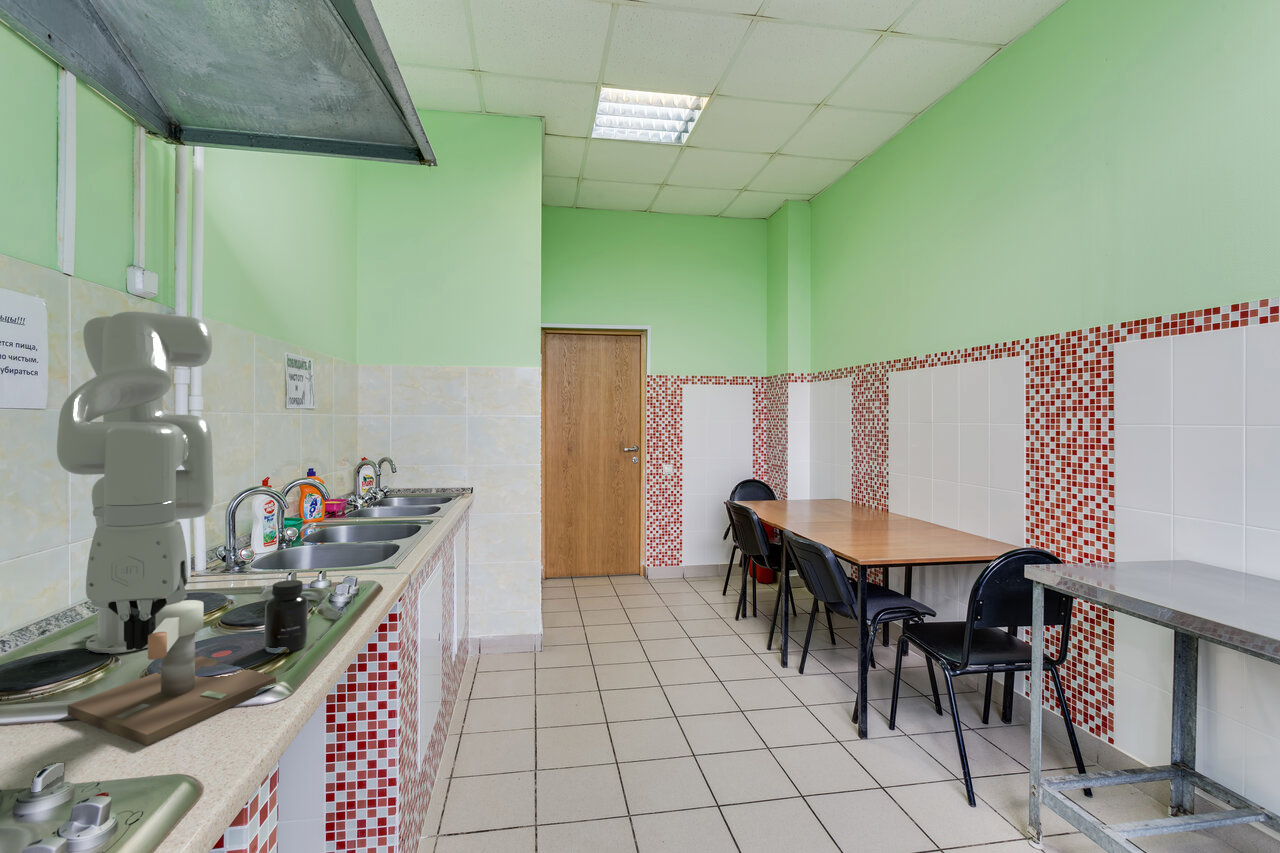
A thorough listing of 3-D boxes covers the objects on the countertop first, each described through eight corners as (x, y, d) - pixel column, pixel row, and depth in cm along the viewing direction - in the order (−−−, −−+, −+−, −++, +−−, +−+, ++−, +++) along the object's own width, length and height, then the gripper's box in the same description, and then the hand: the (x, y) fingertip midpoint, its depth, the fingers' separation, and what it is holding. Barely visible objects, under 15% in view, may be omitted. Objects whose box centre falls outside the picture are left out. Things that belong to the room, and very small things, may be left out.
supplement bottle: (287, 657, 104) (288, 590, 103) (254, 652, 105) (255, 587, 105) (315, 642, 110) (316, 579, 110) (285, 638, 112) (286, 576, 111)
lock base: (67, 715, 83) (67, 643, 82) (201, 664, 100) (202, 604, 99) (146, 745, 76) (147, 668, 76) (275, 686, 93) (276, 622, 93)
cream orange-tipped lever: (159, 625, 89) (160, 602, 89) (207, 620, 92) (207, 598, 92) (126, 663, 76) (126, 636, 76) (182, 656, 79) (183, 630, 79)
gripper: (55, 520, 75) (54, 661, 75) (189, 518, 79) (188, 652, 79) (93, 510, 82) (92, 639, 83) (215, 509, 86) (213, 632, 86)
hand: (139, 645), depth 81 cm, fingers closed
